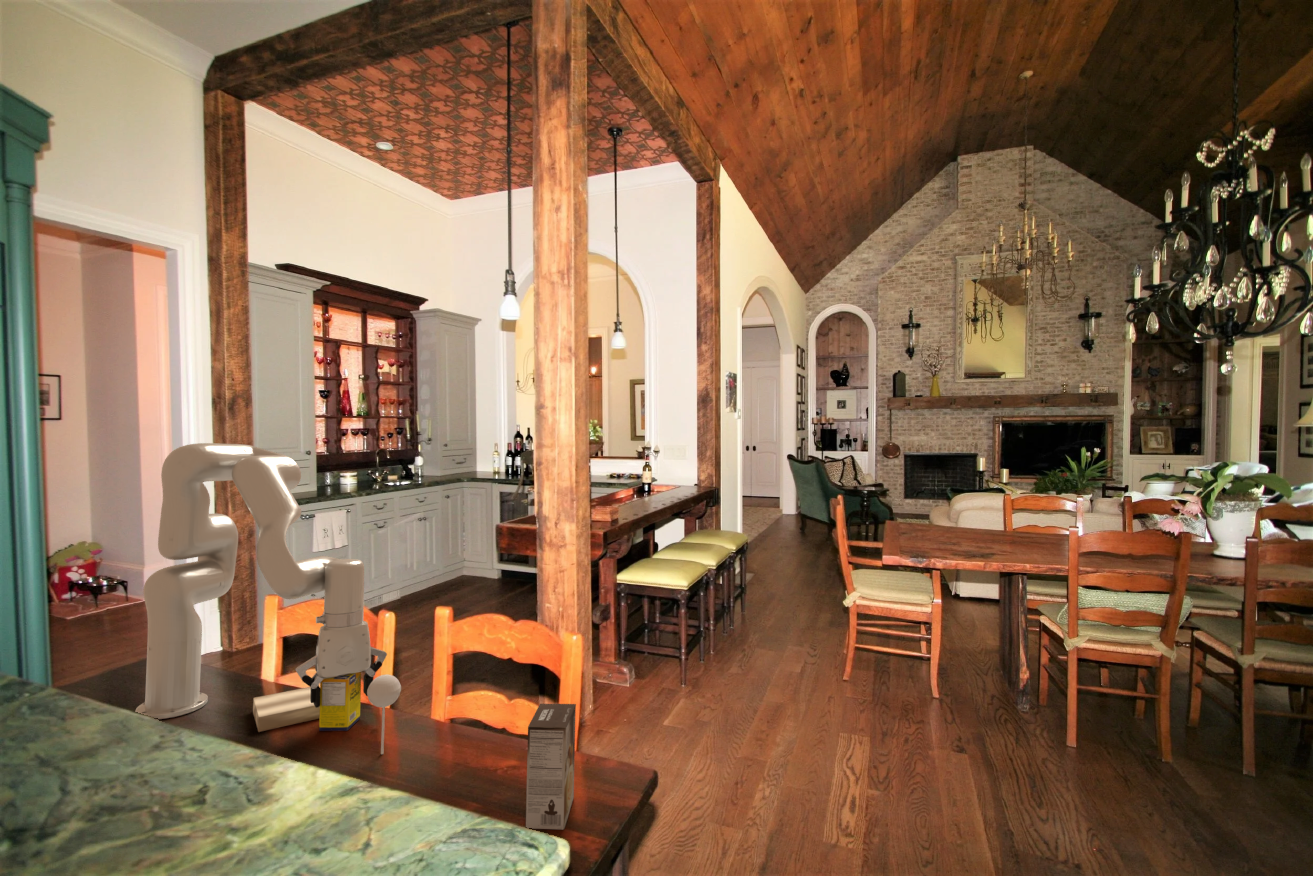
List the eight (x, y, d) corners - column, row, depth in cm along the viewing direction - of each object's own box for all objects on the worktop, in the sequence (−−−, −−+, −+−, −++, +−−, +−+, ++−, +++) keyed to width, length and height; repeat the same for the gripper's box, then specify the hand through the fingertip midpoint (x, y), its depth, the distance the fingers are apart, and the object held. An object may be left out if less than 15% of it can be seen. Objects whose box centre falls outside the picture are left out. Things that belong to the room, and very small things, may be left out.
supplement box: (360, 719, 132) (362, 668, 132) (347, 731, 126) (349, 678, 126) (332, 718, 132) (334, 668, 132) (318, 731, 126) (320, 678, 126)
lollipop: (406, 749, 119) (408, 672, 119) (383, 764, 113) (386, 683, 114) (380, 744, 121) (383, 668, 121) (357, 758, 115) (360, 678, 116)
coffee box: (537, 796, 104) (539, 701, 104) (574, 797, 104) (576, 703, 104) (524, 829, 95) (527, 725, 95) (565, 831, 95) (567, 727, 95)
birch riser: (252, 711, 134) (253, 698, 134) (314, 699, 142) (314, 686, 142) (258, 732, 125) (258, 717, 125) (323, 717, 132) (324, 703, 132)
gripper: (300, 629, 121) (298, 716, 121) (391, 615, 132) (390, 695, 131) (294, 621, 127) (292, 704, 126) (382, 608, 138) (381, 685, 137)
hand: (342, 699), depth 129 cm, fingers open, 9 cm apart
